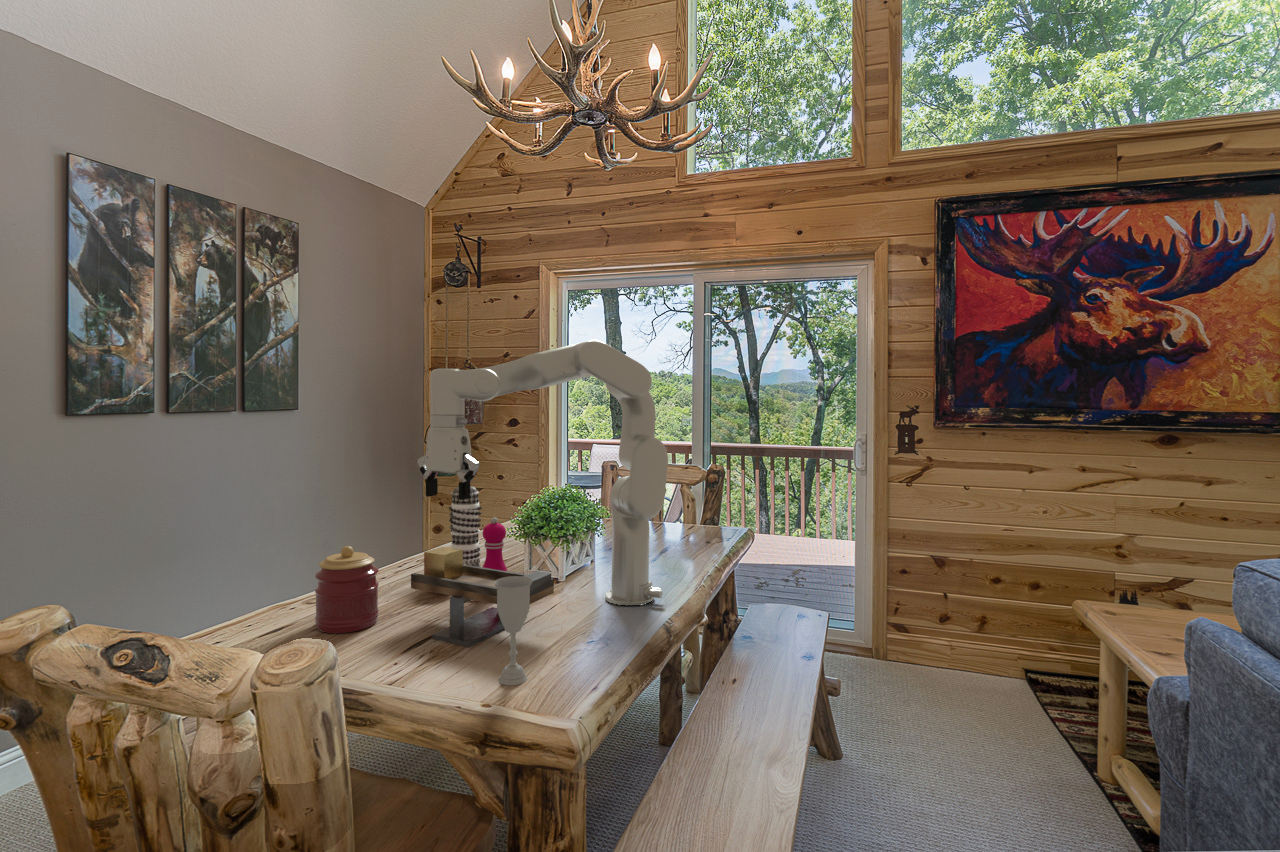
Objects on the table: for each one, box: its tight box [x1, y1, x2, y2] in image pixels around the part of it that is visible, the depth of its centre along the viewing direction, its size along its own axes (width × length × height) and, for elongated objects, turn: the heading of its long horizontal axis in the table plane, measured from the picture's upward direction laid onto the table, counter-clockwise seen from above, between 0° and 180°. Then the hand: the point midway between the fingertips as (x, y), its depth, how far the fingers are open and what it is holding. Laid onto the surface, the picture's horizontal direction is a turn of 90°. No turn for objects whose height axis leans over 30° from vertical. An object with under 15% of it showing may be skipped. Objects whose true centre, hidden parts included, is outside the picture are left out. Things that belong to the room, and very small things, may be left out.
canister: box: [314, 545, 380, 634], centre depth 143 cm, size 13×13×18 cm
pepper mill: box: [482, 517, 508, 571], centre depth 167 cm, size 7×7×20 cm
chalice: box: [494, 576, 532, 686], centre depth 116 cm, size 7×7×18 cm
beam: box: [410, 564, 555, 605], centre depth 141 cm, size 30×13×6 cm, turn 65°
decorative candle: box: [448, 485, 483, 567], centre depth 187 cm, size 9×9×25 cm
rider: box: [423, 546, 463, 579], centre depth 146 cm, size 6×6×6 cm
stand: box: [431, 595, 528, 648], centre depth 142 cm, size 10×20×9 cm, turn 154°
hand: (447, 497), depth 146 cm, fingers open, 9 cm apart
